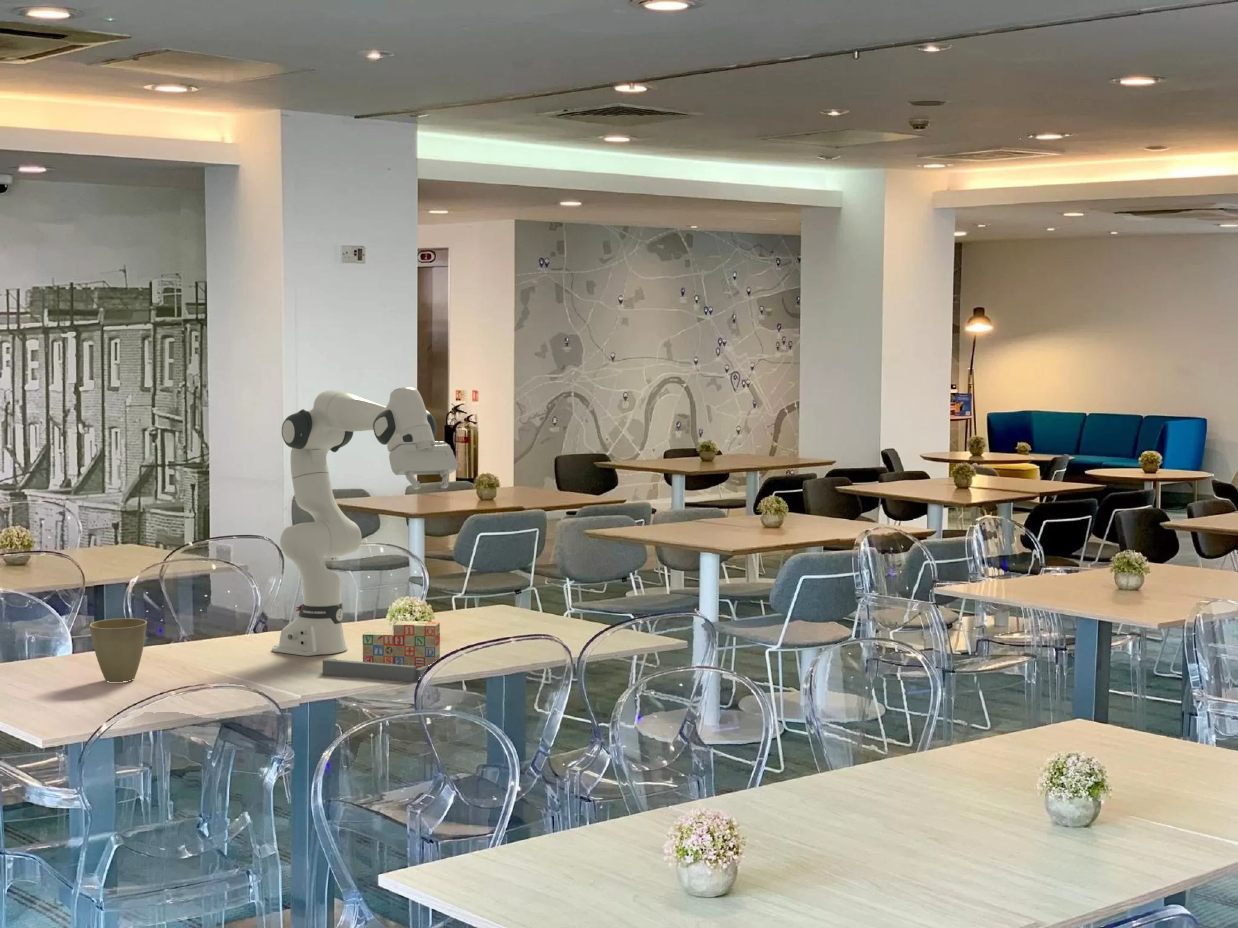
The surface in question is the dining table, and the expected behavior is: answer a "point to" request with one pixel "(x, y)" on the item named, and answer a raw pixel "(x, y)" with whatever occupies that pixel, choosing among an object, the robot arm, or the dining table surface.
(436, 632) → the stack of blocks
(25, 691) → the dining table surface
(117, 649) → the plant pot
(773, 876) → the dining table surface
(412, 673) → the frame
